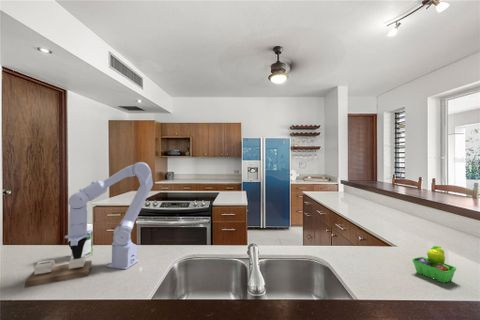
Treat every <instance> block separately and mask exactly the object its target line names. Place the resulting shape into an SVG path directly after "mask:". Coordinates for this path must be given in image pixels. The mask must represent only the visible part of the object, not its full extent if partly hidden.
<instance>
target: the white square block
mask: <svg viewBox="0 0 480 320" xmlns="http://www.w3.org/2000/svg"><path fill="white" fill-rule="evenodd" d="M86 259H87V257H86V255H82V256H81V258H79V259H74V258H73V257H72V256H71V258H70V260H69V261H68V264H69V269H71V268H77V267H83V266H84V264H85V262H86V261H87V260H86Z"/></svg>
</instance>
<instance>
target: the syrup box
mask: <svg viewBox="0 0 480 320" xmlns="http://www.w3.org/2000/svg"><path fill="white" fill-rule="evenodd" d="M93 229H94V228H93V223H89V222H87V236H86V237H87V240H86V242H85V244H84V247H83V252H82V255H86V258H87V257H90V256H92V255H94V254H93V253H94V250H93V249H94V247H93V246H94V245H93V244H94V241H93V239H94V236H93V235H94V234H93V233H94V231H93ZM71 257H73V254H72V253H71Z"/></svg>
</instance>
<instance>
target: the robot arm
mask: <svg viewBox="0 0 480 320" xmlns="http://www.w3.org/2000/svg"><path fill="white" fill-rule="evenodd" d="M134 175H135V177H137V180H138V182H139V187H138V189H137V191H136V193H135V195H134V196H133V199H132V201H131V202H130V204H129V206H128V209H127V210H126V213H125V215H124V217H123V218H122V219H121V220H120V222H119V224H118V225H117V226H116V227H115V228H114V229H113V237H112V239H113V241H112V242H111V263H108V264H107V265H106V267H107V268H111V269H112V268H114V269H122V270H127V269H128V268H130V267H132V266H133V265H135V264H137V263H138V262H139V259H138V252H139V251H138V245H137V244H135V243H133V242H132V238H131V237H132V235H131V233H132V231H133V228H134V226H135V225H134V224H135V222H136V220H137V218H138V215H139V214H140V212H141V210H142V208H143V205H144V204H145V203H146V200H147V198H148V197H149V194H150V192H151V190H152V188H153V185H154V182H153V175H152V170H151V168H150V166H149V164H148V163H146V162H145V161H138V162H135V163H134V164H131V165H129V166H126V167H124V168H122V169H121V170H118V171H117V172H116V173H114V174H113V175H111V176H109V177H107V178H106V179H104V180H96V181H95V180H93V181H91V182H90V184H89V185H87V186H85V187H84V188H80V189H79V190H78V192H77V191H76V192H75V193H73V194H72V195H71V196H70V197H68V206H69V214H68V234H66V235H65V236H64V239H69V241H68V242H67V245H68V246H69V248H70V250H71V255H72V254H73V258H74V259H79V258H81V256H82V252H83V247H84V244H85V242H86V240H87V237H86V236H87V223H88V209H87V207H88V206H87V205H88V204H87V203H88V202H93V200H95V199H97V198H98V197H100V196H101V195H104V194H105V193H107V191H108V188H109V187H111V186H112V185H114V184H116V183H118V182H119V181H121V180H123V179H125V178H129V177H132V178H133V177H134Z"/></svg>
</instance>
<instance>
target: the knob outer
mask: <svg viewBox="0 0 480 320" xmlns="http://www.w3.org/2000/svg"><path fill="white" fill-rule="evenodd" d="M55 263H56V262H55V259H50V260H48V259H47V260H43V261H38V262H37V264H35V266H34V270H33V272H34V275H35V274H41V273H47V272H51V271H52V269H53V268H54V267H55V266H56V265H55Z"/></svg>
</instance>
